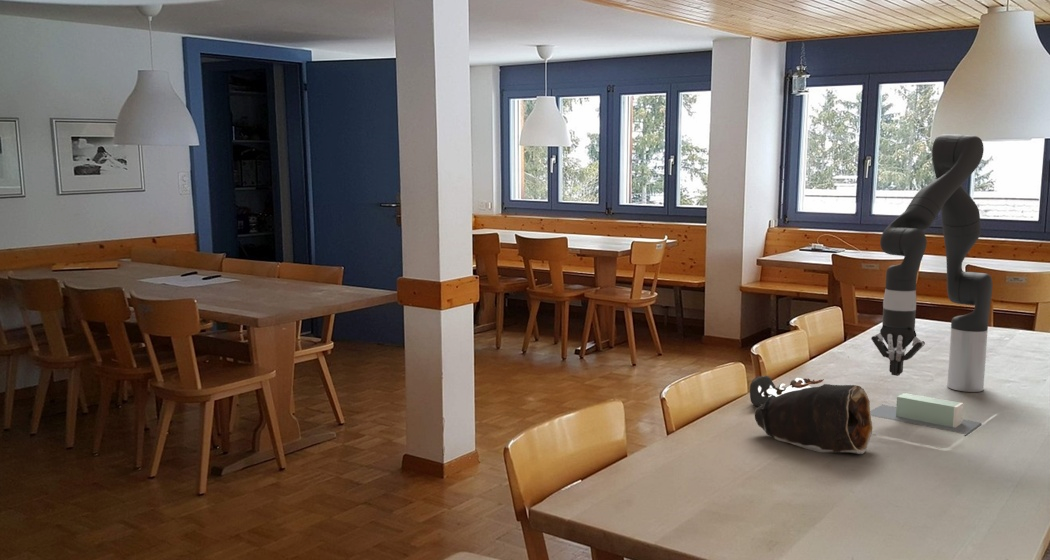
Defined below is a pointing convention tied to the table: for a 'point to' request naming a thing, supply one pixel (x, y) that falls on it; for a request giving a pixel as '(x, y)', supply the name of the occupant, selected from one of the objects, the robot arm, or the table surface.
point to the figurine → (774, 388)
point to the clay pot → (819, 418)
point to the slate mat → (890, 413)
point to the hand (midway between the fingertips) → (895, 374)
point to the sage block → (929, 409)
